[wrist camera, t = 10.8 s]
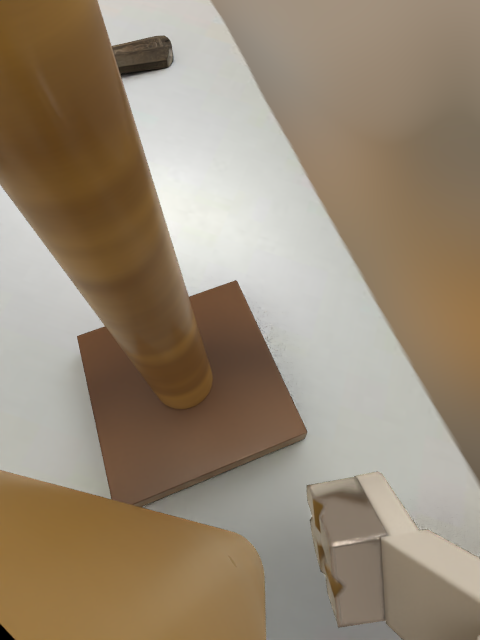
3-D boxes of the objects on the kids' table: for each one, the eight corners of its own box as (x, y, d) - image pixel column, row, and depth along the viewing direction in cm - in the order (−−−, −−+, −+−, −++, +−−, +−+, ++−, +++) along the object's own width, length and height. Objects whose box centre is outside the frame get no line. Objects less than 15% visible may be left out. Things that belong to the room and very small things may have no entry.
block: (108, 62, 40) (102, 42, 38) (167, 46, 41) (163, 25, 39) (118, 82, 38) (112, 62, 36) (178, 64, 39) (175, 44, 37)
